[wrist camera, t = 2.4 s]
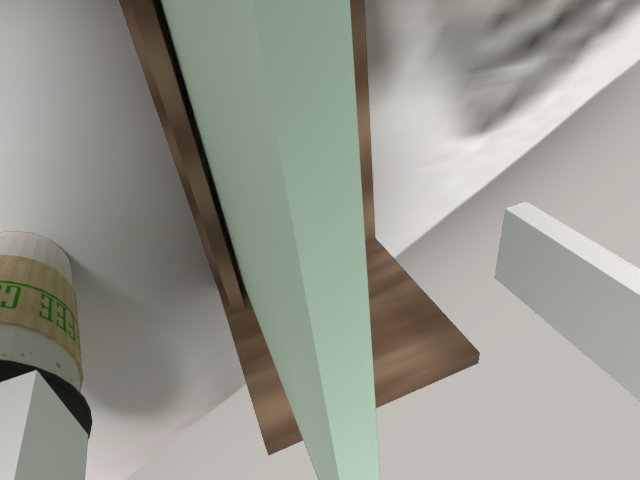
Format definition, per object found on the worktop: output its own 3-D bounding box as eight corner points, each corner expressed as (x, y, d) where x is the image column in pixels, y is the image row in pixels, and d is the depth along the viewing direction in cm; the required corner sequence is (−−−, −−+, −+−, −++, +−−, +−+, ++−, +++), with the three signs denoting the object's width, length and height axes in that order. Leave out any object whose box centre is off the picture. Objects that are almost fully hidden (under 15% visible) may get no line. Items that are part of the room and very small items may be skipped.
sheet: (115, -144, 19) (96, -851, 2) (142, -146, 20) (299, -792, 3) (236, 263, 34) (358, 583, 16) (250, 259, 34) (385, 568, 17)
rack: (42, -226, 18) (-101, -568, 6) (340, -239, 22) (616, -480, 10) (218, 288, 36) (268, 455, 24) (367, 238, 39) (478, 363, 27)
